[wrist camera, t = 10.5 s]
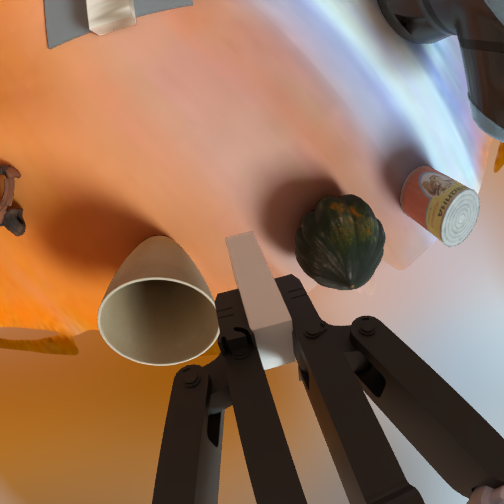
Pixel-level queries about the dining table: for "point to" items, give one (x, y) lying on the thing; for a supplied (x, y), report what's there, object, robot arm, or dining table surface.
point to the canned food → (440, 204)
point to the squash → (340, 242)
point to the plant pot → (158, 306)
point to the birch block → (110, 15)
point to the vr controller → (10, 203)
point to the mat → (76, 17)
